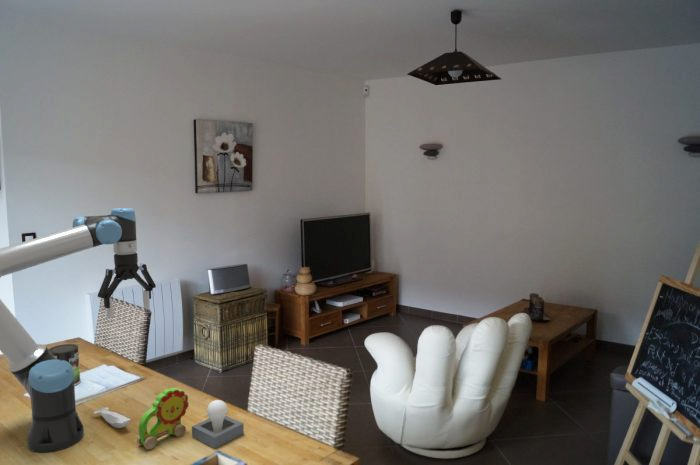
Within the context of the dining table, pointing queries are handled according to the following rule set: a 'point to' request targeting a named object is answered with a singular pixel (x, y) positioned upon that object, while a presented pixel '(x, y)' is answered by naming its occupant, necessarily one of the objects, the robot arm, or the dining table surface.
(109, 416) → the white fish figurine
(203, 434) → the frame
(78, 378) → the coffee can
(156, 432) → the toy lion
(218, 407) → the lightbulb
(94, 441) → the dining table surface
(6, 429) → the dining table surface
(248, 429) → the dining table surface
